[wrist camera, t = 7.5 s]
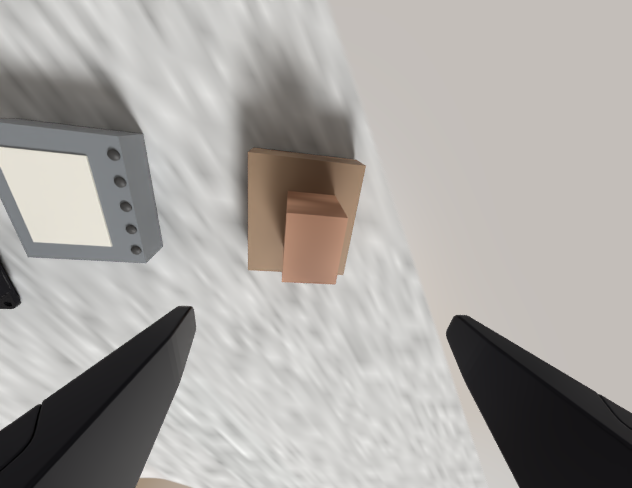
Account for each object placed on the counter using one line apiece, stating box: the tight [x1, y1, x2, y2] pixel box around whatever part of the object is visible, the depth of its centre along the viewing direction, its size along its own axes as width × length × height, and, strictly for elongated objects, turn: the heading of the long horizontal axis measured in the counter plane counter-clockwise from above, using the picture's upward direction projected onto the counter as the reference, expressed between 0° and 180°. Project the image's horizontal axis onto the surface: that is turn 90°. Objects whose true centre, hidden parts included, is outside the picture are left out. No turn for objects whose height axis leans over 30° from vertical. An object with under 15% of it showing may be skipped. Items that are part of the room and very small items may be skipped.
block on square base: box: [248, 148, 366, 284], centre depth 15 cm, size 7×8×6 cm
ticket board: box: [0, 118, 163, 263], centre depth 15 cm, size 7×8×3 cm
